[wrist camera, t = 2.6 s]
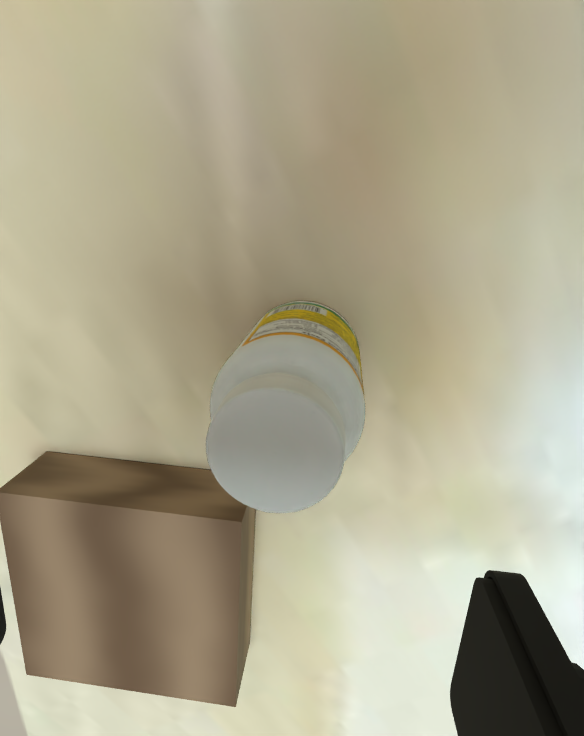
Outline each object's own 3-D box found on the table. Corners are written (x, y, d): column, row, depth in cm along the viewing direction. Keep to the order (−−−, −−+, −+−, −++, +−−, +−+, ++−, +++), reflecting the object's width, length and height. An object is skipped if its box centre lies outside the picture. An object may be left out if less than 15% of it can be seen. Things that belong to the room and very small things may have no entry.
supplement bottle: (304, 274, 21) (275, 320, 12) (383, 358, 22) (413, 462, 13) (225, 352, 23) (144, 445, 13) (301, 427, 24) (274, 563, 14)
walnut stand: (257, 475, 25) (241, 521, 21) (249, 642, 29) (235, 706, 25) (46, 451, 26) (-5, 492, 22) (66, 615, 29) (26, 674, 26)
